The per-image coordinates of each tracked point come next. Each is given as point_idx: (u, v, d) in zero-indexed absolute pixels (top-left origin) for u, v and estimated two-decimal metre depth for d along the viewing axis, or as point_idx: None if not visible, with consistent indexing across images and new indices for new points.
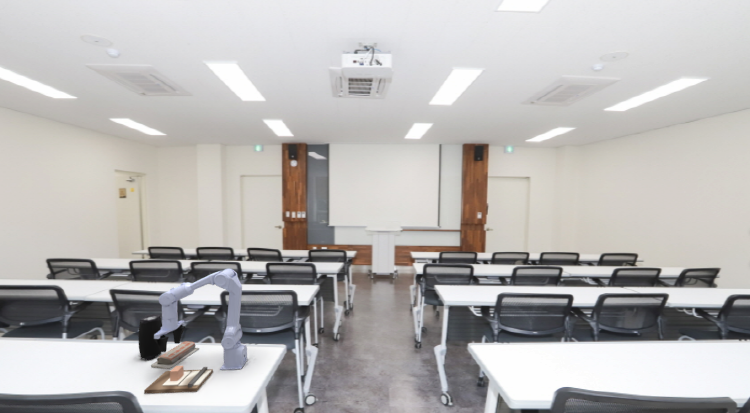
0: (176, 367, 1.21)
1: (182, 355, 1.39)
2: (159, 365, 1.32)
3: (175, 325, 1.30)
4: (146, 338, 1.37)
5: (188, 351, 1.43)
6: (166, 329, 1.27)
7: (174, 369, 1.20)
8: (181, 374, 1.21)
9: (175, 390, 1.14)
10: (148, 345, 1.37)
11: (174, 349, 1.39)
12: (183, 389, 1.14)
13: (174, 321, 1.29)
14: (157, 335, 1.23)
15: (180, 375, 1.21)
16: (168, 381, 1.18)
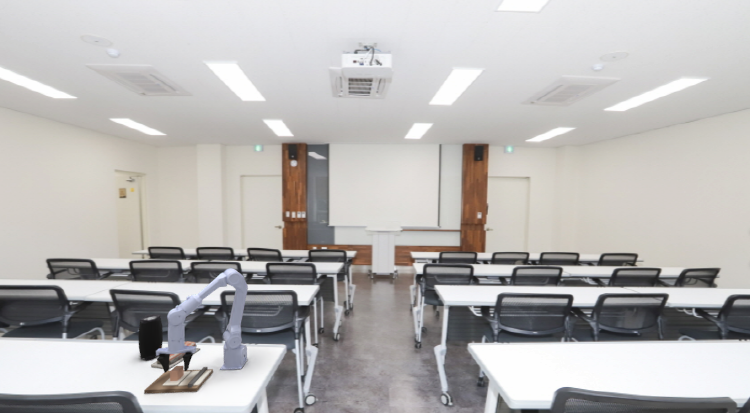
0: (176, 367, 1.21)
1: (182, 355, 1.38)
2: (158, 365, 1.32)
3: (172, 349, 1.18)
4: (146, 338, 1.37)
5: None
6: (168, 349, 1.19)
7: (174, 369, 1.20)
8: (181, 374, 1.21)
9: (175, 390, 1.14)
10: (148, 345, 1.37)
11: None
12: (183, 389, 1.14)
13: (171, 344, 1.18)
14: None
15: (180, 375, 1.21)
16: (168, 381, 1.18)
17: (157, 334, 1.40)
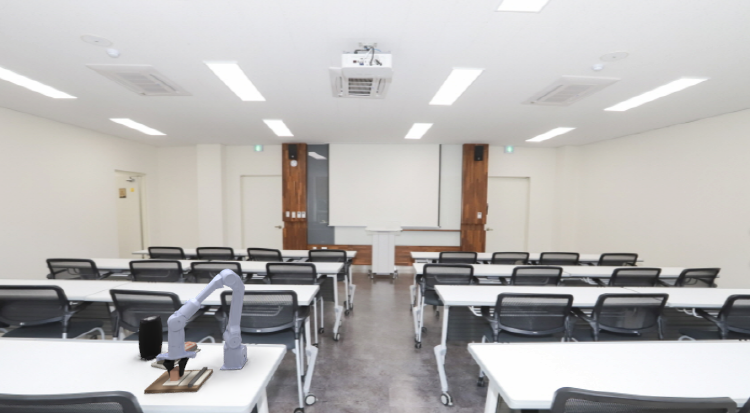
0: (176, 367, 1.21)
1: None
2: (158, 365, 1.32)
3: (172, 355, 1.18)
4: (146, 338, 1.37)
5: None
6: (168, 355, 1.19)
7: (174, 369, 1.20)
8: None
9: (175, 390, 1.14)
10: (148, 345, 1.37)
11: None
12: (183, 389, 1.14)
13: (171, 350, 1.18)
14: None
15: None
16: (168, 381, 1.18)
17: (157, 334, 1.40)
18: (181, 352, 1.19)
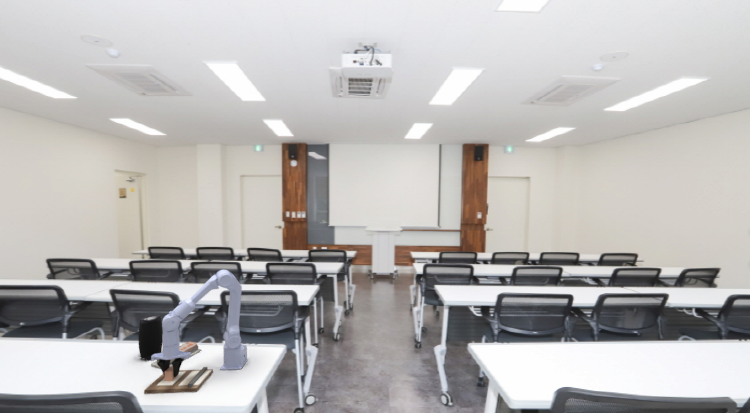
0: (171, 367, 1.21)
1: None
2: None
3: (166, 355, 1.17)
4: (146, 338, 1.37)
5: None
6: (162, 354, 1.19)
7: (169, 369, 1.20)
8: None
9: (175, 390, 1.14)
10: (148, 345, 1.37)
11: None
12: (183, 389, 1.14)
13: (165, 350, 1.17)
14: None
15: None
16: (163, 381, 1.18)
17: (157, 334, 1.40)
18: (175, 352, 1.19)
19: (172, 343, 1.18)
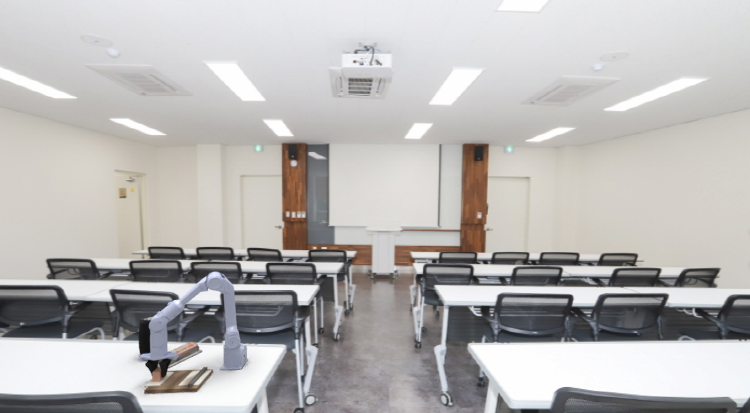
0: (159, 368, 1.21)
1: (181, 357, 1.37)
2: None
3: (153, 355, 1.17)
4: (146, 338, 1.37)
5: (189, 353, 1.41)
6: None
7: (156, 370, 1.19)
8: None
9: (175, 390, 1.14)
10: (148, 345, 1.37)
11: (175, 350, 1.39)
12: (183, 389, 1.14)
13: (152, 351, 1.17)
14: None
15: None
16: (150, 382, 1.18)
17: None
18: (163, 353, 1.19)
19: (159, 344, 1.18)
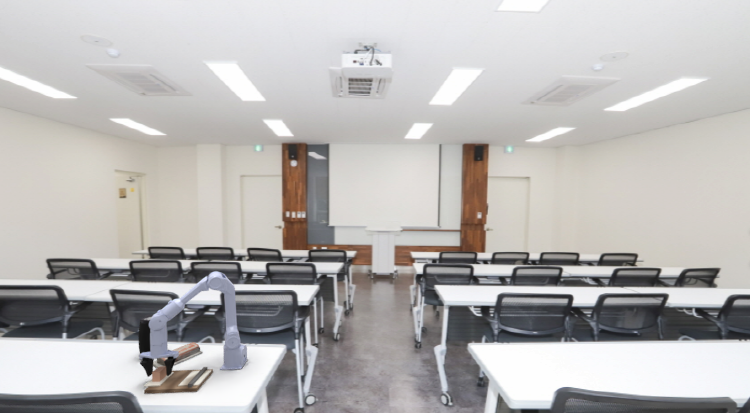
0: (159, 368, 1.21)
1: (180, 357, 1.37)
2: (157, 364, 1.33)
3: (154, 354, 1.17)
4: (146, 338, 1.37)
5: (189, 354, 1.40)
6: None
7: (156, 370, 1.19)
8: (164, 375, 1.21)
9: (175, 390, 1.14)
10: (148, 345, 1.37)
11: (175, 350, 1.39)
12: (183, 389, 1.14)
13: (152, 349, 1.17)
14: None
15: (163, 376, 1.20)
16: (150, 382, 1.18)
17: None
18: (163, 351, 1.19)
19: (159, 342, 1.18)
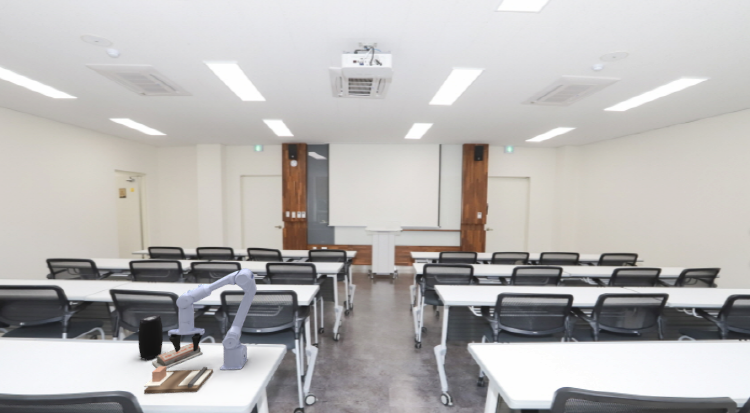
0: (159, 368, 1.21)
1: (180, 358, 1.36)
2: (156, 364, 1.33)
3: (182, 330, 1.25)
4: (146, 338, 1.37)
5: (189, 354, 1.39)
6: None
7: (156, 370, 1.19)
8: (164, 375, 1.21)
9: (175, 390, 1.14)
10: (148, 345, 1.37)
11: None
12: (183, 389, 1.14)
13: (181, 326, 1.25)
14: None
15: (163, 376, 1.20)
16: (150, 382, 1.18)
17: (157, 334, 1.40)
18: (190, 328, 1.27)
19: (185, 320, 1.26)
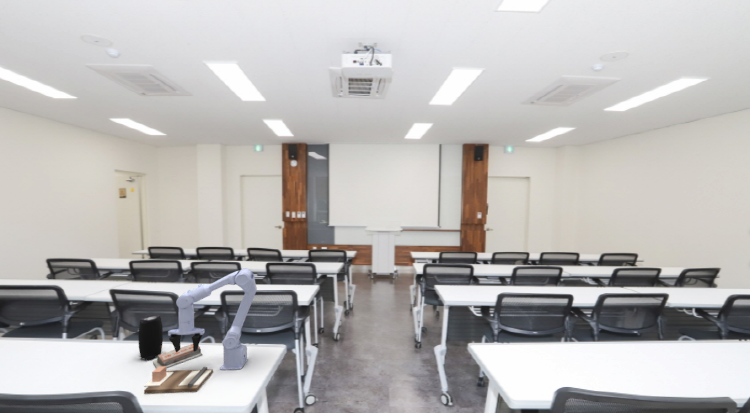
0: (159, 368, 1.21)
1: (179, 358, 1.36)
2: (156, 363, 1.33)
3: (182, 330, 1.25)
4: (146, 338, 1.37)
5: (188, 355, 1.39)
6: None
7: (156, 370, 1.19)
8: (164, 375, 1.21)
9: (175, 390, 1.14)
10: (148, 345, 1.37)
11: None
12: (183, 389, 1.14)
13: (181, 326, 1.25)
14: None
15: (163, 376, 1.20)
16: (150, 382, 1.18)
17: (157, 334, 1.40)
18: (190, 328, 1.27)
19: (185, 320, 1.26)
